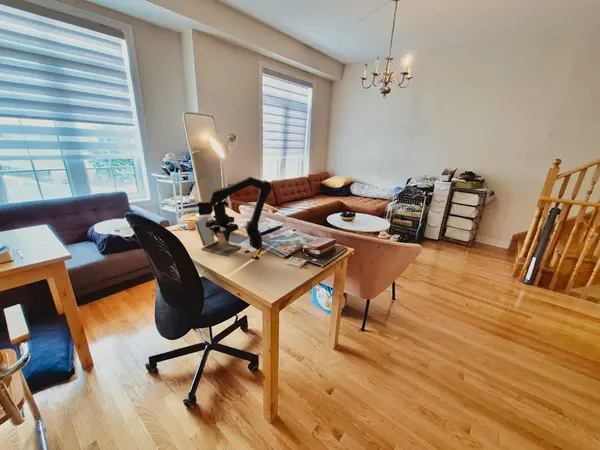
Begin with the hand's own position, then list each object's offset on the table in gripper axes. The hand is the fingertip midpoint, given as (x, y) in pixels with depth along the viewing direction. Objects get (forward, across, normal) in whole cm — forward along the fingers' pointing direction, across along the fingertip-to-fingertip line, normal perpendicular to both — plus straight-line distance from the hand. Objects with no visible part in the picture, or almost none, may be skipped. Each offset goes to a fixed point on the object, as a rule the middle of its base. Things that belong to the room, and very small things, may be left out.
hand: (223, 240), depth 135 cm
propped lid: (-3, +13, 0) cm, 14 cm away
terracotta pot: (+2, 0, 0) cm, 2 cm away
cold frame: (+7, +5, 0) cm, 9 cm away
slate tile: (+7, +4, -16) cm, 18 cm away
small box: (+7, +18, -21) cm, 29 cm away
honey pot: (+7, +34, -19) cm, 40 cm away
